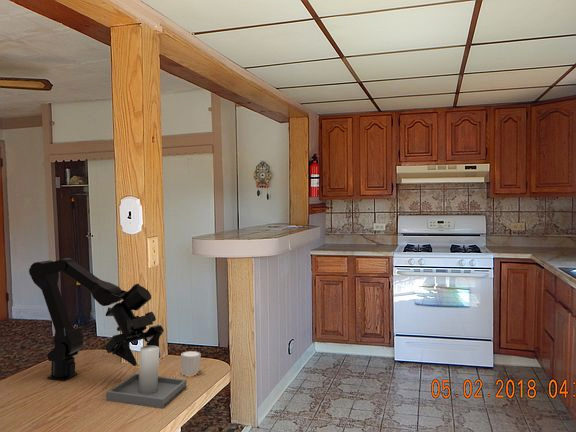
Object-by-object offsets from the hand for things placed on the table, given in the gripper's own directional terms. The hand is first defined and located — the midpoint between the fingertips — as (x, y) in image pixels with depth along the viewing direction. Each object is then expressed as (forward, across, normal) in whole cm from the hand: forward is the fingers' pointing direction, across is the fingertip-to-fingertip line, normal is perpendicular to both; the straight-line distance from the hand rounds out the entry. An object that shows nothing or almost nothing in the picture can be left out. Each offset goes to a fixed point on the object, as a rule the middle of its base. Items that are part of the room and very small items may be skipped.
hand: (147, 361), depth 141 cm
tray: (+7, 0, +7) cm, 10 cm away
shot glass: (+6, +21, +8) cm, 23 cm away
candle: (+7, 0, +6) cm, 9 cm away
